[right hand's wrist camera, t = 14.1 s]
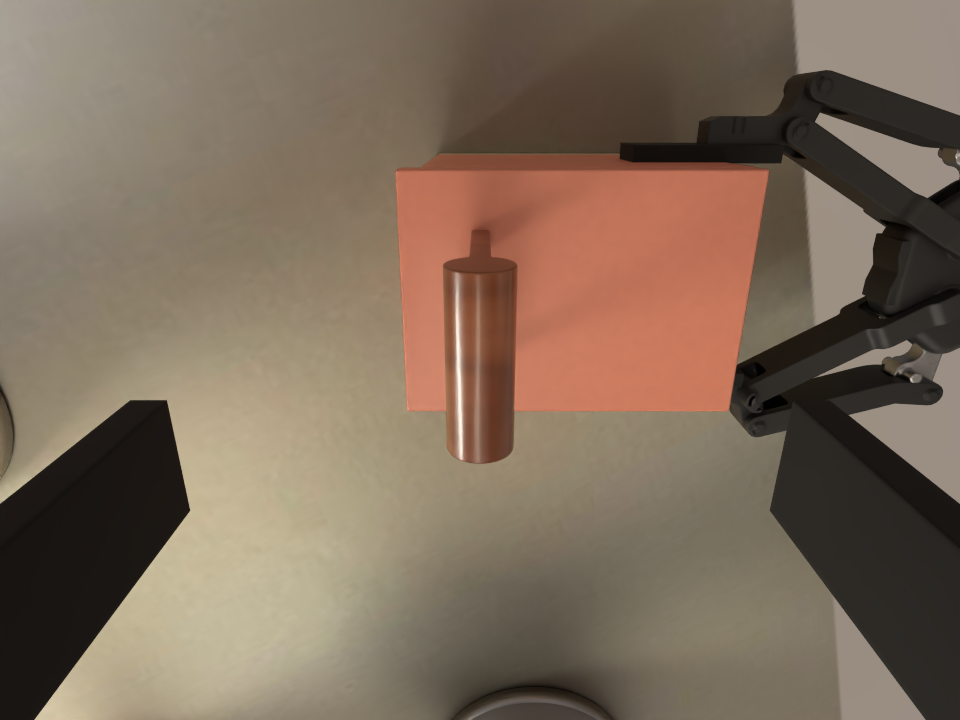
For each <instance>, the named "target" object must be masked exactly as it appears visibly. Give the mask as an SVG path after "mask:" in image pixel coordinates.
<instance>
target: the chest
mask: <svg viewBox="0 0 960 720" xmlns="http://www.w3.org/2000/svg"><path fill="white" fill-rule="evenodd" d="M421 168H756V167H751V166H745V165H739V164H733V163H727V162H629V161H626V160H622V159H620V153H439V154H437V156H436V157H434V158H433V159H432V160H430V161H429V162H428V163H427V164H425V165H424V166H423V167H421Z"/></svg>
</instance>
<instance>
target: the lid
mask: <svg viewBox="0 0 960 720" xmlns="http://www.w3.org/2000/svg"><path fill="white" fill-rule="evenodd" d="M395 175H396V195H397V215H398V236H399V256H400V276H401V296H402V316H403V337H404V357H405V377H406V397H407V410H408V411H446V427H447V449H448V451H449V453H450V454H451V455H452V456H453V457H455V458H457V459H459V460H461V461H465V462H469V463H480V464H481V463H491V462H496V461H499V460H502V459H504V458H505V457H507V456H508V455H509V454H510V453H511V452H512V450H513V444H514V411H729V407H730V401H731V395H732V389H733V384H734V378H735V372H736V366H737V360H738V354H739V348H740V342H741V336H742V330H743V324H744V319H745V313H746V307H747V301H748V295H749V289H750V283H751V277H752V271H753V265H754V259H755V253H756V248H757V242H758V236H759V230H760V224H761V218H762V212H763V206H764V200H765V194H766V188H767V182H768V177H769V170H767V169H762V168H399V169H397V170H396V172H395Z"/></svg>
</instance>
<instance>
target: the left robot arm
mask: <svg viewBox="0 0 960 720" xmlns="http://www.w3.org/2000/svg"><path fill="white" fill-rule="evenodd" d="M819 113H823V114H826V115H829V116H832V117H835V118H838V119H841V120H844V121H847V122H850V123H852V124H855V125H858V126H861V127H864V128H867V129H870V130H873V131H876V132H879V133H882V134H885V135H888V136H891V137H893V138H897V139H899V140H903V141H905V142H908V143H911V144H915V145H918V146H923V147H931V148H940V149H939V151H938V156H939V157H940V158H942V160H943V162H944V163H945V164H946V165H948V166H953V167H955V168H957V170H958V171H959V174H960V116H959V115H957V114H954V113H951V112H948V111H945V110H942V109H939V108H937V107H934V106H931V105H928V104H925V103H922V102H919V101H917V100H914V99H911V98H908V97H905V96H902V95H899V94H897V93H894V92H891V91H888V90H885V89H882V88H879V87H876V86H874V85H871V84H868V83H865V82H862V81H859V80H856V79H854V78H851V77H848V76H845V75H842V74H839V73H836V72H834V71H829V70H825V71H818V72H811V73H804V74H798V75H795V76H792V77H791V78H790V79H789V80H788V81H787V82H786V84H785V87H784V97H783V99H782V101H781V103H780V105H779V107H778V108H777V109H776V110H775V111H774V112H773V113H772V114H770V115H767V116H715V117H709V118H706V119H704V120H701V121H699V128H698V136H697V143H621V147H620V159H622V160H626V161H629V162H727V163H781V161H782V155H783V154H784V155H786V156H787V157H789V158H790V159H792V160H793V161H795V162H796V163H797V164H799V165H800V166H802V167H803V168H805V169H806V170H808V171H809V172H811V173H812V174H813V175H815V176H816V177H818V178H819V179H821V180H822V181H824V182H825V183H827V184H828V185H829V186H831V187H832V188H834V189H835V190H837V191H838V192H840V193H841V194H842V195H844V196H846V197H847V198H848V199H850V200H851V201H853V202H854V203H856V204H857V205H858V206H860V207H861V208H863V209H864V212H865V213H866V214H868V215H869V216H870V217H872V218H873V219H875V220H876V221H878V222H879V223H881V224H882V225H884V226H885V227H886V228H885V229H884V231H883V233H879V234H878V233H877V234H876V238H875V242H874V246H873V266H872V268H871V270H870V272H869V274H868V276H867V278H866V280H865V284H864V288H863V292H862V294H863V295H865V297H863V298H861V299H859V300H856V301H855V302H852V303H850V304H848V305H846V306H845V307H843V308H842V309H841V310H840V314H839V315H837V316H835V317H833V318H831V319H829V320H827V321H825V322H823V323H821V324H819V325H817V326H815V327H813V328H811V329H809V330H807V331H805V332H803V333H801V334H799V335H797V336H795V337H793V338H790V339H788V340H786V341H784V342H782V343H780V344H778V345H776V346H774V347H772V348H770V349H768V350H766V351H764V352H762V353H760V354H758V355H756V356H754V357H752V358H750V359H748V360H746V361H744V362H742V363H740V364H738V365H737V366H736V372H735V378H734V384H733V389H732V395H731V401H730V403H731V404H730V409H729V410H730V412H731V414H732V415H733V416H734V417H735V418H736V419H737V421H738V422H739V423H740V424H741V425H742V426H743V428H744V429H745V430H746V431H747V432H748V433H749V434H750V435H751V436H753V437H761V436H765V435H769V434H774V433H778V432H782V431H786V430H787V427H788V422H789V418H790V413H791V408H792V404H793V400H830V401H831V402H832V403H834V404H835V405H836V406H837V407H839V408H840V409H841V410H842V411H844V412H845V413H846V414H847V415H850V414H854V413H858V412H862V411H866V410H870V409H874V408H878V407H882V406H886V405H890V404H894V403H897V404H914V405H932V404H934V403H936V402H937V401H939V400H940V398H941V397H942V395H943V389H942V387H941V386H940V385H938V384H936V383H935V382H933V378H934V375H935V372H936V370H937V367H938V364H939V361H940V359H941V356H942V354H944V353H948V352H951V351H953V350H955V349H958V348H960V179H959V180H957V181H955V182H953V183H951V184H949V185H948V186H946V187H945V188H943V189H941V190H940V191H938V192H937V193H935V194H933V195H932V196H930V197H929V198H926V197H924V196H921V195H919V194H916V193H914V192H913V191H911V190H910V189H908V188H907V187H906V186H904V185H903V184H901V183H900V182H899V181H897V180H896V179H894V178H893V177H891V176H890V175H889V174H887V173H886V172H884V171H883V170H882V169H880V168H879V167H877V166H876V165H875V164H873V163H872V162H870V161H869V160H868V159H866V158H865V157H863V156H862V155H861V154H859V153H858V152H856V151H855V150H853V149H852V148H851V147H849V146H848V145H846V144H845V143H844V142H842V141H841V140H839V139H838V138H837V137H835V136H834V135H832V134H831V133H829V132H828V131H827V130H825V129H824V128H822V127H821V126H820V125H818V124H817V123H815V120H816V118H817V117H818V115H819ZM879 317H880V318H879ZM905 340H908V341H909V342H910V343H911V344H912V347H911V349H910V350H909V351H908V352H907V353H905V354H904V355H901V356H896V357H893V358H891V357H886V358H884V359H883V361H882V365H866V366H861V367H856V368H852V369H848V370H844V371H840V372H836V373H832V374H828V375H825V376H821V377H817V378H814V377H816V376H818V375H820V374H822V373H825V372H827V371H829V370H831V369H833V368H835V367H837V366H839V365H841V364H843V363H846V362H848V361H850V360H852V359H854V358H856V357H858V356H860V355H862V354H864V353H866V352H868V351H871V350H873V349H886V348H890V347H893V346H895V345H897V344H899V343H901V342H903V341H905ZM812 378H813V379H812ZM453 720H611V719H610V717H609V716H608V715H607V714H606V713H605V712H604V711H603V710H602V709H601V708H600V707H598V706H597V705H595V704H594V703H592V702H591V701H589V700H587V699H585V698H583V697H581V696H579V695H576V694H573V693H570V692H567V691H563V690H559V689H553V688H545V687H522V688H514V689H508V690H504V691H500V692H496V693H493V694H490V695H488V696H485V697H483V698H481V699H479V700H477V701H475V702H473V703H472V704H470V705H469V706H467V707H466V708H465V709H463V710H462V711H461V712H460V713H459V714H458V715H457V716H456V717H455V718H454V719H453Z"/></svg>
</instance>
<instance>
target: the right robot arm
mask: <svg viewBox="0 0 960 720" xmlns="http://www.w3.org/2000/svg"><path fill="white" fill-rule="evenodd" d="M12 447H13V430H12V424H11V419H10V415H9V411H8V408H7V406H6V403H5V401H4V398H3V396H2V394H1V392H0V479H1V477H2V476H3V474H4V473H5V471H6V469H7V467H8V464H9V461H10V458H11V453H12ZM189 511H190V508H189V503H188V498H187V493H186V489H185V484H184V479H183V475H182V470H181V465H180V460H179V456H178V451H177V446H176V441H175V437H174V432H173V427H172V422H171V418H170V413H169V408H168V404H167V400H130V401H129V402H128V403H126V404H125V405H124V406H123V407H121V408H120V409H119V410H118V411H116V412H115V413H114V414H113V415H111V416H110V417H109V418H108V419H106V420H105V421H104V422H103V423H101V424H100V425H99V426H97V427H96V428H95V429H94V430H92V431H91V432H90V433H89V434H87V435H86V436H85V437H84V438H82V439H81V440H80V441H79V442H77V443H76V444H75V445H74V446H72V447H71V448H70V449H69V450H67V451H66V452H65V453H64V454H62V455H61V456H60V457H59V458H57V459H56V460H55V461H54V462H52V463H51V464H50V465H49V466H47V467H46V468H45V469H44V470H42V471H41V472H40V473H39V474H37V475H36V476H35V477H34V478H32V479H31V480H30V481H28V482H27V483H26V484H25V485H23V486H22V487H21V488H20V489H18V490H17V491H16V492H15V493H13V494H12V495H11V496H10V497H8V498H7V499H6V500H5V501H3V502H2V503H1V504H0V720H34V719H35V718H36V717H37V715H38V714H39V713H40V711H41V710H42V709H43V707H44V706H45V705H46V703H47V702H48V701H49V699H50V698H51V697H52V695H53V694H54V693H55V691H56V690H57V689H58V687H59V686H60V685H61V683H62V682H63V681H64V679H65V678H66V676H67V675H68V674H69V672H70V671H71V670H72V668H73V667H74V666H75V664H76V663H77V662H78V660H79V659H80V658H81V656H82V655H83V654H84V652H85V651H86V650H87V648H88V647H89V646H90V644H91V643H92V642H93V640H94V639H95V638H96V636H97V635H98V634H99V632H100V631H101V630H102V628H103V627H104V625H105V624H106V623H107V621H108V620H109V619H110V617H111V616H112V615H113V613H114V612H115V611H116V609H117V608H118V607H119V605H120V604H121V603H122V601H123V600H124V599H125V597H126V596H127V595H128V593H129V592H130V591H131V589H132V588H133V587H134V585H135V584H136V583H137V581H138V580H139V579H140V577H141V576H142V575H143V573H144V572H145V570H146V569H147V568H148V566H149V565H150V564H151V562H152V561H153V560H154V558H155V557H156V556H157V554H158V553H159V552H160V550H161V549H162V548H163V546H164V545H165V544H166V542H167V541H168V540H169V538H170V537H171V536H172V534H173V533H174V532H175V530H176V529H177V528H178V526H179V525H180V524H181V522H182V521H183V519H184V518H185V517H186V515H187V514H188V513H189ZM770 511H771V513H772V514H773V515H774V517H775V518H776V519H777V521H778V522H779V524H780V525H781V526H782V528H783V529H784V530H785V532H786V533H787V534H788V536H789V537H790V538H791V540H792V541H793V542H794V544H795V545H796V546H797V548H798V549H799V550H800V552H801V553H802V554H803V556H804V557H805V558H806V560H807V561H808V562H809V564H810V565H811V566H812V568H813V569H814V570H815V572H816V573H817V575H818V576H819V577H820V579H821V580H822V581H823V583H824V584H825V585H826V587H827V588H828V589H829V591H830V592H831V593H832V595H833V596H834V597H835V599H836V600H837V601H838V603H839V604H840V605H841V607H842V608H843V609H844V611H845V612H846V613H847V615H848V616H849V617H850V619H851V620H852V621H853V623H854V624H855V625H856V627H857V628H858V630H859V631H860V632H861V634H862V635H863V636H864V638H865V639H866V640H867V642H868V643H869V644H870V646H871V647H872V648H873V650H874V651H875V652H876V654H877V655H878V656H879V658H880V659H881V660H882V662H883V663H884V664H885V666H886V667H887V668H888V670H889V671H890V672H891V674H892V675H893V676H894V678H895V679H896V681H897V682H898V683H899V684H900V686H901V687H902V689H903V690H904V691H905V693H906V694H907V695H908V697H909V698H910V699H911V701H912V702H913V703H914V705H915V706H916V707H917V709H918V710H919V711H920V713H921V714H922V715H923V717H924V718H925V719H926V720H960V504H959V503H958V502H957V501H955V500H954V499H953V498H951V497H950V496H949V495H948V494H947V493H945V492H944V491H943V490H942V489H940V488H939V487H938V486H937V485H935V484H934V483H933V482H931V481H930V480H929V479H928V478H926V477H925V476H924V475H923V474H921V473H920V472H919V471H918V470H916V469H915V468H914V467H913V466H911V465H910V464H909V463H908V462H906V461H905V460H904V459H903V458H901V457H900V456H899V455H898V454H896V453H895V452H894V451H893V450H891V449H890V448H889V447H888V446H886V445H885V444H884V443H883V442H881V441H880V440H879V439H878V438H876V437H875V436H874V435H872V434H871V433H870V432H869V431H868V430H866V429H865V428H864V427H863V426H861V425H860V424H859V423H857V422H856V421H855V420H854V419H852V418H851V417H850V416H849V415H847V414H846V413H845V412H844V411H842V410H841V409H840V408H839V407H837V406H836V405H835V404H834V403H832V402H831V401H830V400H793V404H792V408H791V413H790V418H789V422H788V427H787V432H786V437H785V441H784V446H783V451H782V456H781V460H780V465H779V470H778V475H777V479H776V484H775V489H774V493H773V498H772V503H771V508H770Z"/></svg>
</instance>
